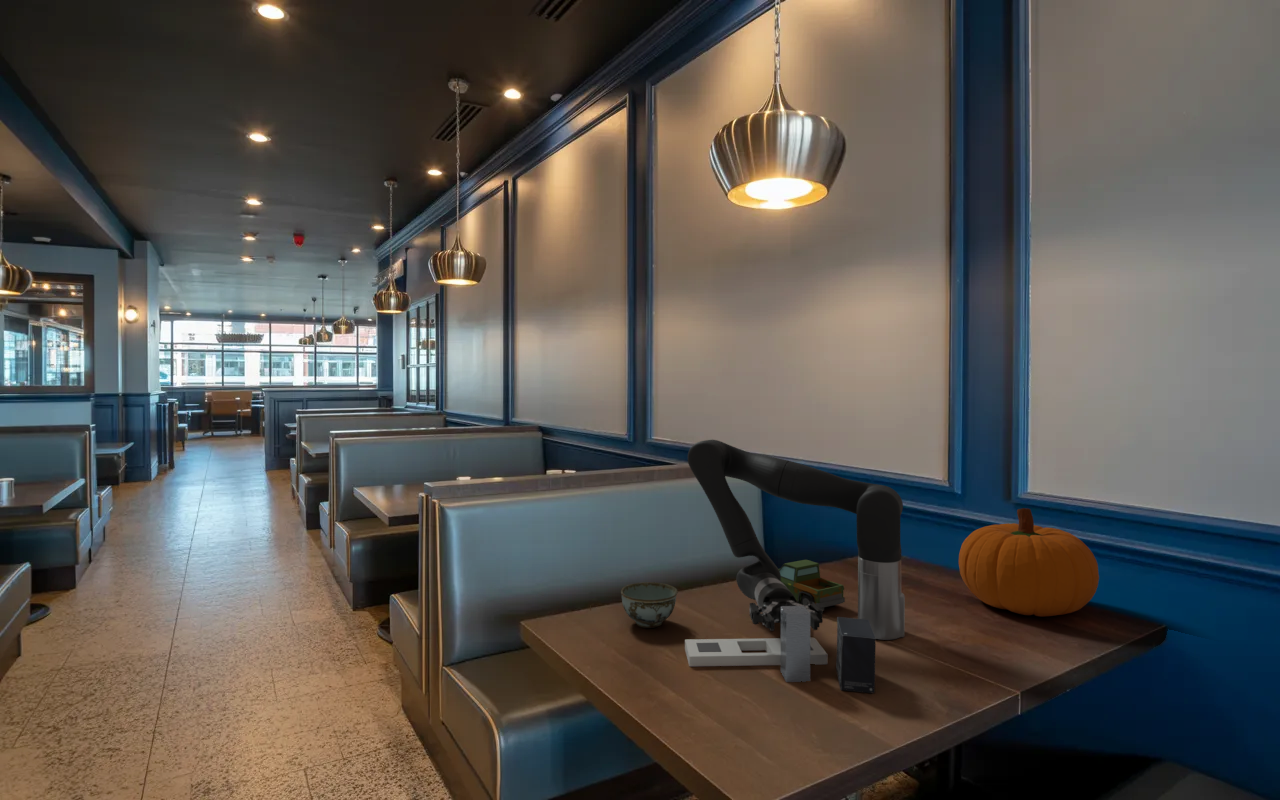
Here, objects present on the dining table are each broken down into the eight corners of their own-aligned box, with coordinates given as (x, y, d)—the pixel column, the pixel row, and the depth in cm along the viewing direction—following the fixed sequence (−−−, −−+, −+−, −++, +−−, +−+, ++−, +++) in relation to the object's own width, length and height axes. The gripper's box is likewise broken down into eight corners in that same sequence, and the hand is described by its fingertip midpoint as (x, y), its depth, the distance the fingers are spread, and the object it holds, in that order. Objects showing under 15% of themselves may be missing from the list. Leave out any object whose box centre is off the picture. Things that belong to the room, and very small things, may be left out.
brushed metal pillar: (803, 671, 132) (803, 605, 132) (810, 681, 128) (810, 613, 128) (780, 671, 132) (780, 606, 132) (786, 682, 128) (786, 614, 127)
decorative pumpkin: (1120, 611, 167) (1121, 511, 167) (1062, 637, 150) (1064, 525, 150) (995, 581, 193) (996, 494, 192) (934, 600, 176) (935, 505, 175)
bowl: (613, 617, 163) (613, 584, 163) (665, 611, 168) (665, 579, 168) (630, 637, 150) (630, 601, 150) (686, 630, 155) (686, 595, 155)
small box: (877, 694, 122) (877, 637, 122) (840, 691, 124) (840, 635, 124) (869, 670, 133) (869, 618, 133) (835, 668, 134) (835, 615, 134)
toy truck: (789, 587, 188) (789, 552, 187) (849, 609, 169) (849, 570, 169) (758, 594, 182) (758, 557, 182) (816, 617, 164) (816, 576, 163)
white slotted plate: (814, 646, 145) (814, 637, 145) (827, 664, 136) (827, 654, 136) (684, 648, 144) (684, 639, 144) (689, 666, 135) (689, 656, 135)
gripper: (742, 582, 147) (758, 607, 131) (806, 581, 148) (830, 605, 132) (742, 616, 147) (758, 645, 131) (806, 615, 148) (830, 643, 132)
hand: (794, 625), depth 131 cm, fingers open, 8 cm apart
